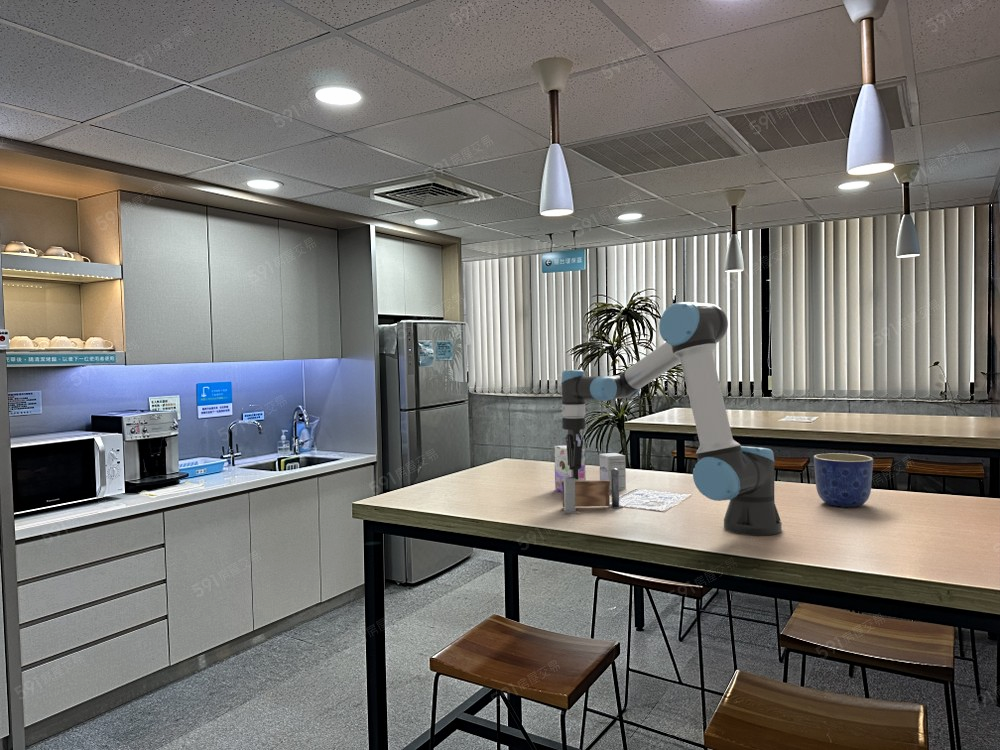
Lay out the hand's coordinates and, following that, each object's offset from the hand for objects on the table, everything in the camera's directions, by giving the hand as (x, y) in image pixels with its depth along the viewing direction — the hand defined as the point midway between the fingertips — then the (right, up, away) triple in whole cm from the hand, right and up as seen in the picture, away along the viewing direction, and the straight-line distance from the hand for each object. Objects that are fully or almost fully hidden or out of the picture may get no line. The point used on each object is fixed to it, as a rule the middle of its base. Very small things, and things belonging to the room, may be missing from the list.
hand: (574, 488), depth 222 cm
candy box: (+1, -5, +22) cm, 23 cm away
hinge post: (+13, -6, -3) cm, 14 cm away
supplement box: (+17, -5, +28) cm, 33 cm away
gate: (+3, -5, -3) cm, 7 cm away
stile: (-3, -6, -8) cm, 11 cm away
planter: (+85, -4, -6) cm, 85 cm away
